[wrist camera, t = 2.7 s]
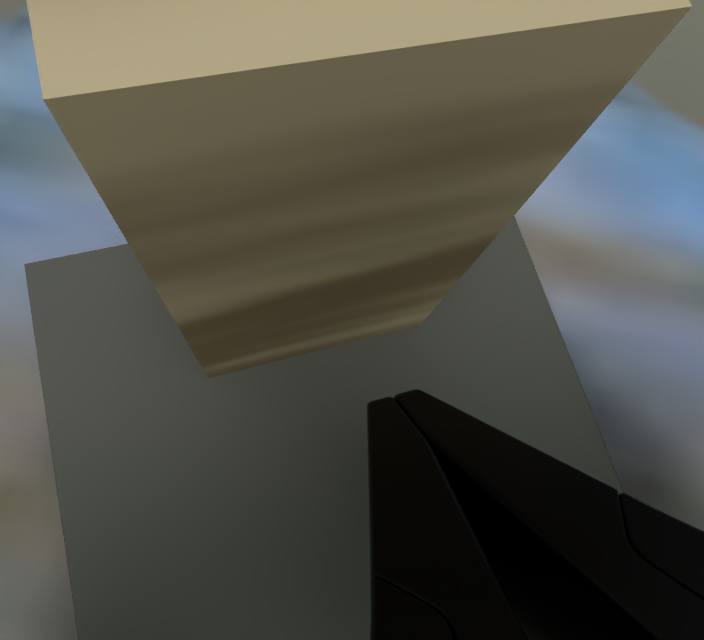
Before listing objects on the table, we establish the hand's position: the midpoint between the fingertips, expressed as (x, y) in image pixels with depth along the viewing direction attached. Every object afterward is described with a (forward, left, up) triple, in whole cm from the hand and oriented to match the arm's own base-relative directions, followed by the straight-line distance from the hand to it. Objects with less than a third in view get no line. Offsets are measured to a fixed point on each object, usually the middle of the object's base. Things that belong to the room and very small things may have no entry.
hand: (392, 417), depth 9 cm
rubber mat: (0, 0, -7) cm, 7 cm away
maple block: (+3, +3, -6) cm, 8 cm away
